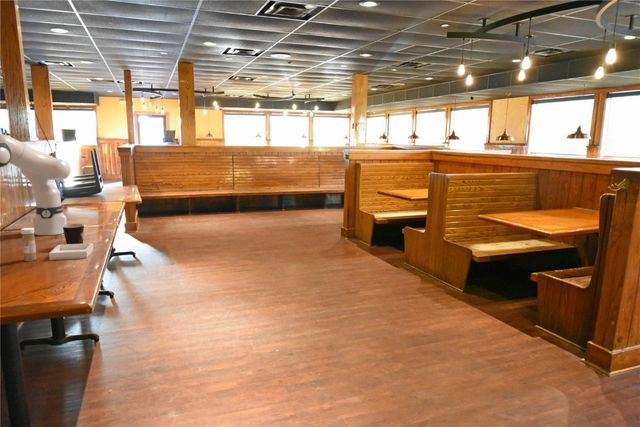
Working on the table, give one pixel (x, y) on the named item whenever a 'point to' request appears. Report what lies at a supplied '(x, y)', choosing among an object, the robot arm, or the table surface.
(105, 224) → the table surface
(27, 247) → the sprinkles bottle
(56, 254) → the tray
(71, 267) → the table surface
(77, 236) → the coffee mug
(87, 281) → the table surface
